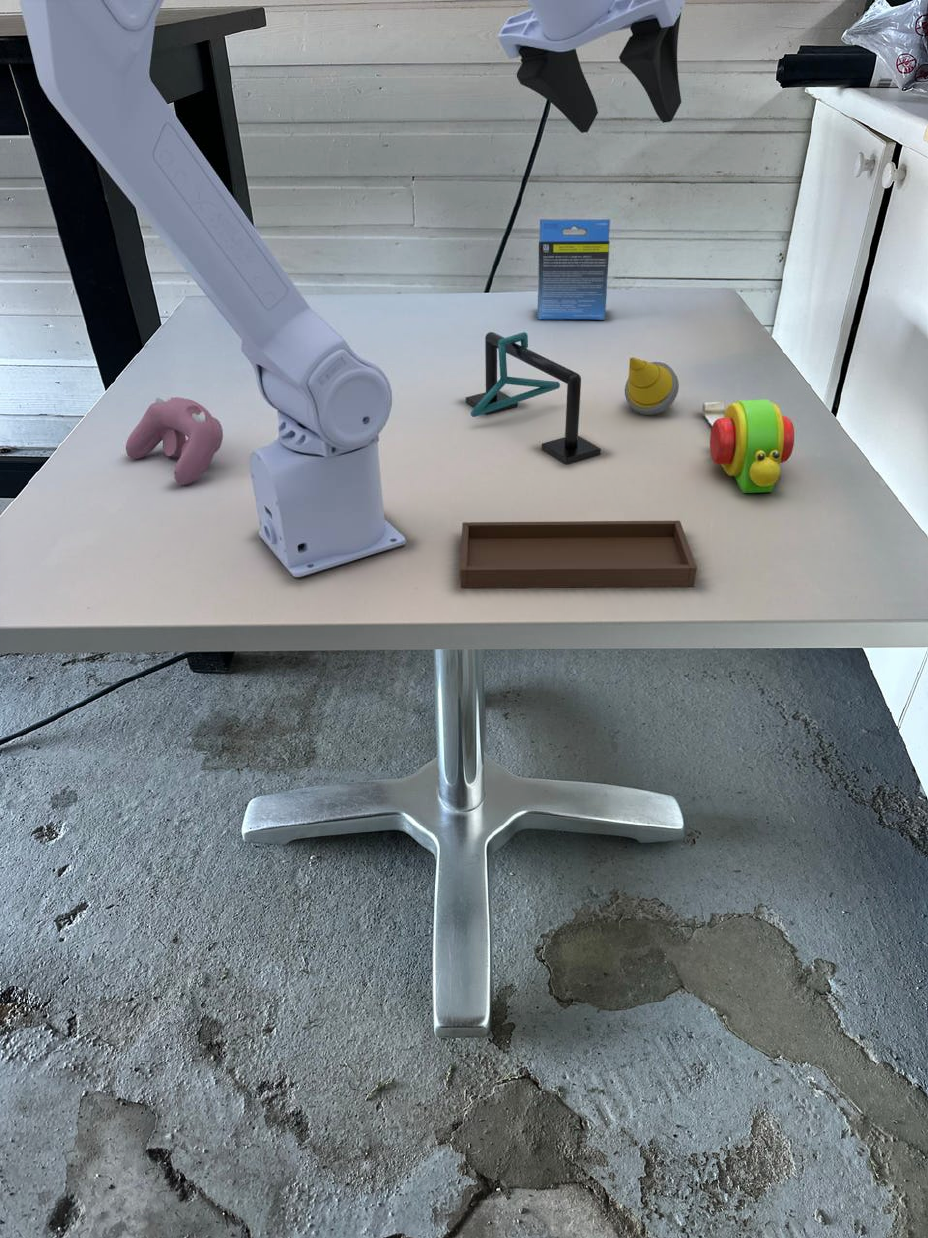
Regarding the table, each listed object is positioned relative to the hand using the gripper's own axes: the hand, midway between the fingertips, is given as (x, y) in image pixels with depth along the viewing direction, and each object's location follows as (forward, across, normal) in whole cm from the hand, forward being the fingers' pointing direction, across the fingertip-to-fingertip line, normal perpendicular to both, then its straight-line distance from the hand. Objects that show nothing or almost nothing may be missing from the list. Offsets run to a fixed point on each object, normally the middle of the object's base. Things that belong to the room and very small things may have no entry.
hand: (629, 117), depth 70 cm
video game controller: (0, +32, +37) cm, 49 cm away
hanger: (+19, +14, +15) cm, 28 cm away
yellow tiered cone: (+27, +5, +10) cm, 29 cm away
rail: (+19, +12, +17) cm, 28 cm away
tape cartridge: (+37, +30, -10) cm, 48 cm away
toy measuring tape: (+26, -7, +14) cm, 30 cm away
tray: (+11, -6, +33) cm, 35 cm away
